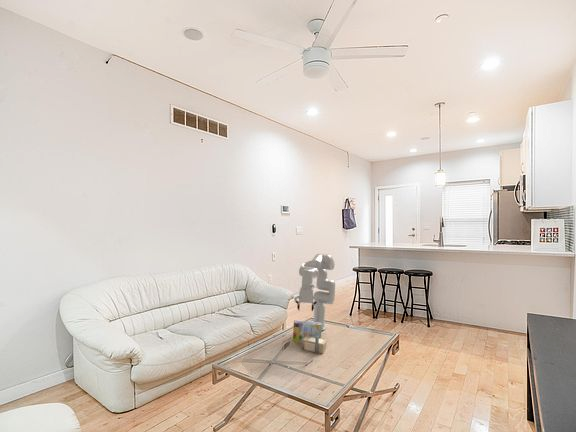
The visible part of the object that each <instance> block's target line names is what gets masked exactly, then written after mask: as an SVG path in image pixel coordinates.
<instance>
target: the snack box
mask: <svg viewBox="0 0 576 432" xmlns="http://www.w3.org/2000/svg"><path fill="white" fill-rule="evenodd" d="M292 330H293V331H292V332H293V333H292V342H293V343H302V341H303V339H304V337H305V336H311V337H316V336H319V339H322V331H321V323H318V322H313V321H305V320H293V329H292Z"/></svg>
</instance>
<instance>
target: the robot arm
mask: <svg viewBox="0 0 576 432" xmlns="http://www.w3.org/2000/svg"><path fill="white" fill-rule="evenodd" d="M335 265H336V264H335V261H334V258H333V257H332V256H331V255H330V254H324V253H323V254H322V253H317V254H315V255H314V257H313V258H312V259H311V260H308V261H305V262H303V263H302V264H301V265H300V267H299V269H298V275H299V276H301V287H300V289H299V293H298V295H297V296H295V297H293V300H294V302H295V303H296V304H297V307H296V308H297V311H300V305H301V303H305V304H306V303H307V304H311V312H313V321H312V322H318V323H321V332H322V330H323V331H325V330H326V329H327V327H325V323H326V322H325V319H326V317H325V316H326V305H333V304H334V303H335V294H336V282H335V281H334V280H333V279H328V272H327V271H332V270H334V269H335ZM313 279H316V284H315V285H316V286H315V285H314V284H313ZM315 287H316V288H317V290H316V291H315V292H314V288H315ZM324 304H325V305H324Z"/></svg>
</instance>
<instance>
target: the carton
mask: <svg viewBox="0 0 576 432" xmlns="http://www.w3.org/2000/svg"><path fill="white" fill-rule="evenodd" d="M302 342H304V345H305V342H307V343H311V344H315V337H311V336H305V337H304V339H303V341H302ZM302 342H301V343H302ZM327 342H328V341H327V339H323V338H321V339H319V344H318V354H319V353H320V354H324V353H325V351H326V350H327Z"/></svg>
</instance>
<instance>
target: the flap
mask: <svg viewBox="0 0 576 432" xmlns="http://www.w3.org/2000/svg"><path fill="white" fill-rule="evenodd" d="M301 343H302V344H301V345H302V346H301V349H302V350H306V351H310V352H314V353H315V354H319V352H318V344H319V336H316V337H315V344H311V343H307V342H305V345H304V342H301Z"/></svg>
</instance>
